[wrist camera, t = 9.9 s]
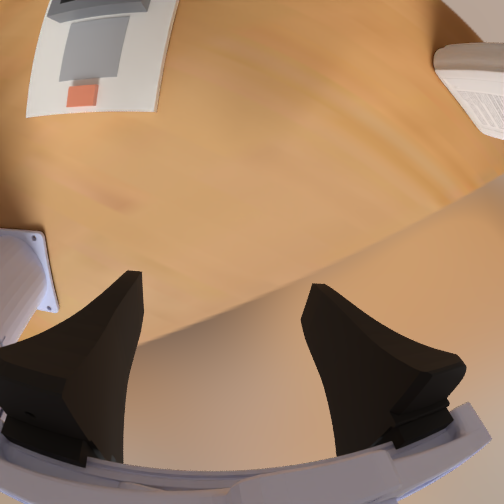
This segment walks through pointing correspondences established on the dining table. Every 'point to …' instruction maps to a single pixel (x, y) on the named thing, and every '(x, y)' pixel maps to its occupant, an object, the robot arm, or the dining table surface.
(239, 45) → the dining table surface
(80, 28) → the white flat rectangular base
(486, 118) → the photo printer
